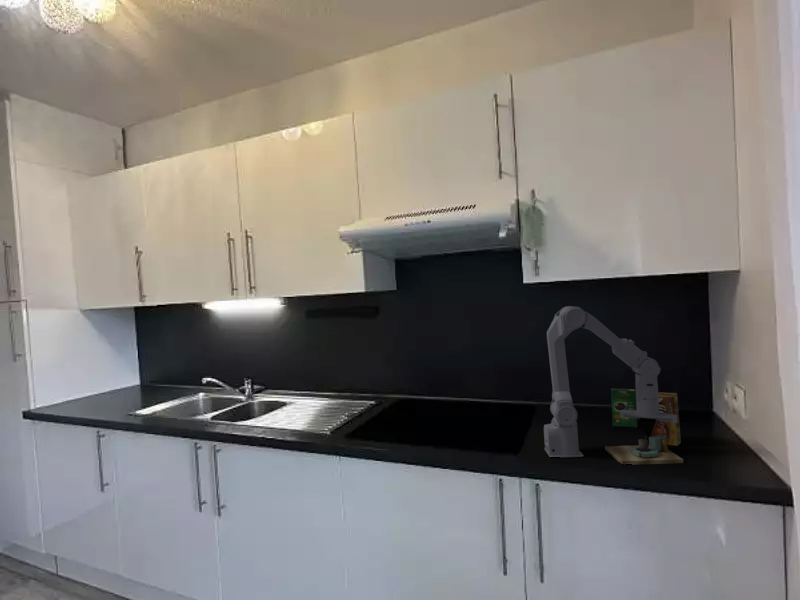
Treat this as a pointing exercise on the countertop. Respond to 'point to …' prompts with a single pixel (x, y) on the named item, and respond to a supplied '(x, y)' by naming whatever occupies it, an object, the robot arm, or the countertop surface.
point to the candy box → (668, 429)
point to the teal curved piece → (650, 447)
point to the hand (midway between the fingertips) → (649, 444)
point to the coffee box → (623, 406)
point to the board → (626, 457)
